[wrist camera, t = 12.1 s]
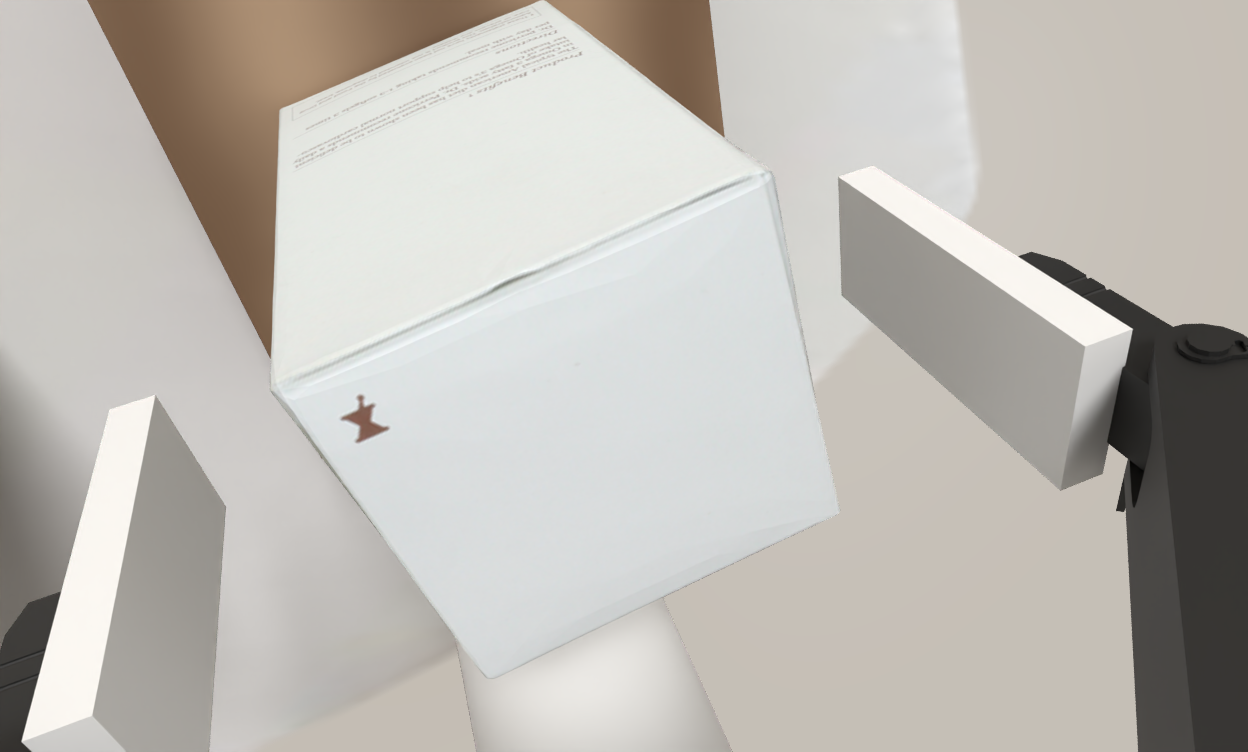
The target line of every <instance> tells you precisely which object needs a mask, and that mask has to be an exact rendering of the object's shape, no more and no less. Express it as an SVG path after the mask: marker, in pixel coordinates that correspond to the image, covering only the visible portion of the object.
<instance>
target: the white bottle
mask: <svg viewBox="0 0 1248 752" xmlns="http://www.w3.org/2000/svg"><path fill="white" fill-rule="evenodd" d="M455 640H456V645H457V651H458V656H459V661H460V667H461V672H462V677H463V682H464V688H465V693H466V698H467V703H468V709H469V715H470V720H471V725H472V730H473V735H474V741H475V746H476V752H733V751H732V749H731V747H730V745H729V743H728V740H727V738H726V736H725V734H724V732H723V729H722V727H721V725H720V722H719V720H718V718H717V716H716V714H715V711H714V709H713V707H712V705H711V703H710V700H709V698H708V696H707V694H706V691H705V689H704V687H703V685H702V682H701V680H700V678H699V676H698V674H697V672H696V669H695V667H694V665H693V663H692V661H691V658H690V656H689V654H688V652H687V650H686V647H685V645H684V643H683V641H682V639H681V637H680V634H679V632H678V630H677V628H676V626H675V623H674V621H673V619H672V617H671V615H670V612H669V610H668V608H667V606H666V604H665V602H664V599H663V598H660V599H658V600H656V601H654V602H652V603H650V604H648V605H646V606H644V607H642V608H640V609H637V610H635V611H633V612H631V613H629V614H627V615H625V616H623V617H621V618H619V619H617V620H614V621H612V622H610V623H608V624H606V625H604V626H602V627H600V628H598V629H596V630H593V631H591V632H589V633H587V634H585V635H583V636H581V637H579V638H577V639H575V640H573V641H571V642H569V643H567V644H565V645H563V646H561V647H559V648H556V649H554V650H552V651H550V652H548V653H546V654H544V655H542V656H540V657H538V658H536V659H534V660H532V661H530V662H528V663H526V664H524V665H522V666H520V667H518V668H516V669H514V670H512V671H510V672H508V673H506V674H504V675H501V676H499V677H497V678H495V679H487V678H486V677H485V676H484V675H483V674H482V673H481V671H480V670H479V669H478V667H477V666H476V665H475V664H474V662H473V661H472V659H471V658H470V657H469V655H468V654H467V653H466V652H465V650H464V649H463V647H462V646H461V644H460V643H459V641H458V640H457V639H456V638H455Z"/></svg>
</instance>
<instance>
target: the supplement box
mask: <svg viewBox="0 0 1248 752" xmlns="http://www.w3.org/2000/svg"><path fill="white" fill-rule="evenodd" d="M270 391H271V393H272V394H273V395H274V396H275V398H276V399H277V400H278V401H279V403H280V404H281V405H282V407H283V408H284V409H285V410H286V412H287V413H288V414H289V415H290V417H291V418H292V419H293V421H294V422H295V423H296V424H297V426H298V427H299V428H300V430H301V431H302V432H303V434H304V435H305V436H306V437H307V439H308V440H309V441H310V443H311V444H312V445H313V447H314V448H315V449H316V451H317V452H318V453H319V454H320V456H321V457H322V458H323V460H324V461H325V462H326V464H327V465H328V466H329V468H330V469H331V470H332V472H333V473H334V474H335V476H336V477H337V478H338V479H339V481H340V482H341V483H342V485H343V486H344V487H345V489H346V490H347V491H348V493H349V494H350V495H351V497H352V498H353V499H354V501H355V502H356V503H357V504H358V506H359V507H360V508H361V510H362V511H363V512H364V514H365V515H366V516H367V518H368V519H369V520H370V521H371V523H372V524H373V525H374V527H375V528H376V529H377V531H378V532H379V533H380V535H381V536H382V537H383V539H384V540H385V541H386V543H387V544H388V546H389V547H390V548H391V550H392V551H393V552H394V554H395V555H396V556H397V558H398V559H399V560H400V562H401V563H402V565H403V566H404V567H405V569H406V570H407V571H408V573H409V574H410V576H411V577H412V578H413V580H414V581H415V583H416V584H417V585H418V587H419V588H420V590H421V591H422V592H423V594H424V595H425V596H426V598H427V599H428V600H429V602H430V603H431V605H432V606H433V607H434V609H435V610H436V611H437V613H438V614H439V615H440V617H441V618H442V620H443V621H444V622H445V624H446V625H447V626H448V628H449V629H450V631H451V632H452V634H453V635H454V636H455V638H456V639H457V640H458V641H459V643H460V644H461V646H462V647H463V649H464V650H465V652H466V653H467V654H468V655H469V657H470V658H471V659H472V661H473V662H474V664H475V665H476V666H477V667H478V669H479V670H480V671H481V673H482V674H483V675H484V676H485V677H486V678H487V679H495V678H497V677H499V676H501V675H504V674H506V673H508V672H510V671H512V670H514V669H516V668H518V667H520V666H522V665H524V664H526V663H528V662H530V661H532V660H534V659H536V658H538V657H540V656H542V655H544V654H546V653H548V652H550V651H552V650H554V649H556V648H559V647H561V646H563V645H565V644H567V643H569V642H571V641H573V640H575V639H577V638H579V637H581V636H583V635H585V634H587V633H589V632H591V631H593V630H596V629H598V628H600V627H602V626H604V625H606V624H608V623H610V622H612V621H614V620H617V619H619V618H621V617H623V616H625V615H627V614H629V613H631V612H633V611H635V610H637V609H640V608H642V607H644V606H646V605H648V604H650V603H652V602H654V601H656V600H658V599H660V598H663V597H665V596H667V595H669V594H671V593H673V592H675V591H677V590H679V589H681V588H683V587H686V586H688V585H690V584H692V583H694V582H696V581H698V580H700V579H702V578H704V577H706V576H709V575H711V574H713V573H715V572H717V571H719V570H721V569H723V568H725V567H727V566H729V565H732V564H734V563H735V562H738V561H740V560H742V559H744V558H746V557H748V556H750V555H752V554H754V553H757V552H759V551H761V550H763V549H765V548H767V547H769V546H772V545H774V544H775V543H778V542H780V541H782V540H784V539H786V538H789V537H790V536H793V535H795V534H797V533H799V532H801V531H804V530H806V529H807V528H810V527H812V526H814V525H816V524H818V523H821V522H823V521H825V520H827V519H829V518H831V517H834V516H836V515H837V514H838V513H839V512H840V507H839V503H838V500H837V495H836V490H835V486H834V481H833V477H832V472H831V468H830V463H829V459H828V454H827V450H826V445H825V441H824V437H823V432H822V428H821V423H820V418H819V414H818V409H817V405H816V400H815V394H814V388H813V383H812V378H811V372H810V367H809V361H808V356H807V351H806V345H805V340H804V335H803V329H802V324H801V319H800V314H799V308H798V303H797V297H796V292H795V286H794V281H793V275H792V270H791V264H790V259H789V254H788V249H787V244H786V239H785V233H784V228H783V222H782V217H781V211H780V206H779V200H778V194H777V188H776V183H775V177H774V175H773V173H772V171H771V170H770V169H769V168H768V167H766V166H765V165H764V164H762V163H761V162H759V161H758V160H756V159H755V158H753V157H752V156H750V155H749V154H747V153H746V152H744V151H743V150H741V149H740V148H738V147H737V146H735V145H734V144H732V143H731V142H730V141H728V140H727V139H726V138H724V137H723V136H722V135H720V134H719V133H717V132H716V131H715V130H713V129H712V128H711V127H709V126H708V125H707V124H706V123H704V122H703V121H702V120H700V119H699V118H698V117H697V116H695V115H694V114H693V113H691V112H690V111H689V110H687V109H686V108H685V107H684V106H682V105H681V104H680V103H678V102H677V101H676V100H674V99H673V98H672V97H670V96H669V95H668V94H667V93H665V92H664V91H663V90H661V89H660V88H659V87H658V86H656V85H655V84H654V83H653V82H651V81H650V80H649V79H648V78H647V77H645V76H644V75H643V74H641V73H640V72H639V71H637V70H636V69H635V68H634V67H632V66H631V65H629V64H628V63H627V62H626V61H625V60H623V59H622V58H621V57H620V56H618V55H617V54H616V53H614V52H613V51H612V50H610V49H609V48H608V47H607V46H605V45H604V44H603V43H601V42H600V41H599V40H597V39H596V38H595V37H593V36H592V35H591V34H590V33H589V32H587V31H586V30H585V29H583V28H582V27H581V26H579V25H578V24H576V23H575V22H573V21H572V20H570V19H569V18H568V17H566V16H565V15H564V14H563V13H561V12H560V11H558V10H557V9H556V8H554V7H553V6H552V5H551V4H549V3H548V2H547V1H545V0H541V1H538V2H535V3H533V4H531V5H528V6H526V7H523V8H521V9H518V10H516V11H513V12H510V13H508V14H505V15H503V16H500V17H497V18H495V19H492V20H490V21H488V22H485V23H483V24H481V25H478V26H476V27H473V28H471V29H469V30H466V31H464V32H461V33H459V34H457V35H454V36H452V37H450V38H447V39H445V40H442V41H440V42H438V43H435V44H433V45H431V46H428V47H426V48H424V49H421V50H419V51H417V52H414V53H412V54H409V55H407V56H405V57H402V58H400V59H398V60H395V61H393V62H391V63H388V64H386V65H383V66H381V67H379V68H376V69H374V70H372V71H369V72H367V73H365V74H362V75H360V76H358V77H355V78H353V79H351V80H348V81H346V82H344V83H341V84H339V85H337V86H334V87H332V88H329V89H327V90H325V91H322V92H320V93H318V94H315V95H313V96H311V97H308V98H306V99H304V100H301V101H299V102H296V103H294V104H292V105H289V106H286V107H284V108H282V109H280V110H279V137H278V169H277V197H276V226H275V263H274V288H273V314H272V346H271V366H270Z"/></svg>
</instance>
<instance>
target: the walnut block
mask: <svg viewBox="0 0 1248 752" xmlns="http://www.w3.org/2000/svg"><path fill="white" fill-rule="evenodd" d="M87 1H88V2H89V4H90V6H91V8H92V10H93V12H94V14H95V16H96V18H97V20H98V22H99V24H100V26H101V28H102V30H103V32H104V34H105V36H106V38H107V40H108V42H109V44H110V46H111V47H112V49H113V51H114V53H115V55H116V57H117V59H118V61H119V63H120V65H121V67H122V69H123V71H124V73H125V75H126V77H127V79H128V81H129V83H130V85H131V87H132V89H133V91H134V92H135V94H136V96H137V98H138V100H139V102H140V104H141V106H142V108H143V110H144V112H145V114H146V116H147V118H148V120H149V122H150V124H151V126H152V128H153V130H154V132H155V134H156V136H157V137H158V139H159V141H160V143H161V145H162V147H163V149H164V151H165V153H166V155H167V157H168V159H169V161H170V163H171V165H172V167H173V169H174V171H175V173H176V175H177V177H178V179H179V181H180V182H181V184H182V186H183V188H184V190H185V192H186V194H187V196H188V198H189V200H190V202H191V204H192V206H193V208H194V210H195V212H196V214H197V216H198V218H199V220H200V222H201V224H202V226H203V227H204V229H205V231H206V233H207V235H208V237H209V239H210V241H211V243H212V245H213V247H214V249H215V251H216V253H217V255H218V257H219V259H220V261H221V263H222V265H223V267H224V269H225V271H226V272H227V274H228V276H229V278H230V280H231V282H232V284H233V286H234V288H235V290H236V292H237V294H238V296H239V298H240V300H241V302H242V304H243V306H244V308H245V310H246V312H247V314H248V316H249V317H250V319H251V321H252V323H253V325H254V327H255V329H256V331H257V333H258V335H259V337H260V339H261V341H262V343H263V345H264V347H265V349H266V351H267V353H268V355H269V357H270V359H271V346H272V314H273V288H274V263H275V226H276V197H277V169H278V137H279V110H280V109H282V108H284V107H286V106H289V105H292V104H294V103H296V102H299V101H301V100H304V99H306V98H308V97H311V96H313V95H315V94H318V93H320V92H322V91H325V90H327V89H329V88H332V87H334V86H337V85H339V84H341V83H344V82H346V81H348V80H351V79H353V78H355V77H358V76H360V75H362V74H365V73H367V72H369V71H372V70H374V69H376V68H379V67H381V66H383V65H386V64H388V63H391V62H393V61H395V60H398V59H400V58H402V57H405V56H407V55H409V54H412V53H414V52H417V51H419V50H421V49H424V48H426V47H428V46H431V45H433V44H435V43H438V42H440V41H442V40H445V39H447V38H450V37H452V36H454V35H457V34H459V33H461V32H464V31H466V30H469V29H471V28H473V27H476V26H478V25H481V24H483V23H485V22H488V21H490V20H492V19H495V18H497V17H500V16H503V15H505V14H508V13H510V12H513V11H516V10H518V9H521V8H523V7H526V6H528V5H531V4H533V3H535V2H538V1H541V0H87ZM545 1H547V2H548V3H549V4H551V5H552V6H553V7H554V8H556V9H557V10H558V11H560V12H561V13H563V14H564V15H565V16H566V17H568V18H569V19H570V20H572V21H573V22H575V23H576V24H578V25H579V26H581V27H582V28H583V29H585V30H586V31H587V32H589V33H590V34H591V35H592V36H593V37H595V38H596V39H597V40H599V41H600V42H601V43H603V44H604V45H605V46H607V47H608V48H609V49H610V50H612V51H613V52H614V53H616V54H617V55H618V56H620V57H621V58H622V59H623V60H625V61H626V62H627V63H628V64H629V65H631V66H632V67H634V68H635V69H636V70H637V71H639V72H640V73H641V74H643V75H644V76H645V77H647V78H648V79H649V80H650V81H651V82H653V83H654V84H655V85H656V86H658V87H659V88H660V89H661V90H663V91H664V92H665V93H667V94H668V95H669V96H670V97H672V98H673V99H674V100H676V101H677V102H678V103H680V104H681V105H682V106H684V107H685V108H686V109H687V110H689V111H690V112H691V113H693V114H694V115H695V116H697V117H698V118H699V119H700V120H702V121H703V122H704V123H706V124H707V125H708V126H709V127H711V128H712V129H713V130H715V131H716V132H717V133H719V134H720V135H722V136H723V137H724V129H723V120H722V111H721V102H720V93H719V84H718V76H717V67H716V58H715V49H714V40H713V31H712V22H711V14H710V5H709V0H545ZM321 458H322V457H321Z"/></svg>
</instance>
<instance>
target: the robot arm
mask: <svg viewBox="0 0 1248 752" xmlns="http://www.w3.org/2000/svg"><path fill="white" fill-rule="evenodd" d="M838 187H839V221H840V255H841V288H842V296H843V297H844V298H845V299H846V300H848V301H849V302H850V303H851V304H852V305H853V306H854V307H855V308H857V309H858V310H859V311H860V312H861V313H862V314H863V315H864V316H865V317H867V318H868V319H869V320H870V321H871V322H872V323H873V324H874V325H876V326H877V327H878V328H879V329H880V330H881V331H882V332H883V333H885V334H886V335H887V336H888V337H889V338H890V339H891V340H892V341H893V342H895V343H896V344H897V345H898V346H899V347H900V348H901V349H903V350H904V351H905V352H906V353H907V354H908V355H909V356H910V357H911V358H913V359H914V360H915V361H916V362H917V363H918V364H919V365H920V366H922V367H923V368H924V369H925V370H926V371H927V372H928V373H929V374H931V375H932V376H933V377H934V378H935V379H936V380H937V381H938V382H939V383H941V384H942V385H943V386H944V387H945V388H946V389H947V390H948V391H949V392H951V393H952V394H953V395H954V396H955V397H956V398H957V399H958V400H960V401H961V402H962V403H963V404H964V405H965V406H966V407H968V408H969V409H970V410H971V411H972V412H973V413H974V414H975V415H976V416H978V417H979V418H980V419H981V420H982V421H983V422H984V423H985V424H986V425H988V426H989V427H990V428H991V429H992V430H993V431H994V432H995V433H997V434H998V435H999V436H1000V437H1001V438H1002V439H1003V440H1004V441H1006V442H1007V443H1008V444H1009V445H1010V446H1011V447H1013V449H1014V450H1016V451H1017V452H1018V453H1019V454H1020V455H1021V456H1022V457H1023V458H1025V459H1026V460H1027V461H1028V462H1029V463H1030V464H1032V466H1034V467H1035V468H1036V469H1037V470H1038V471H1039V472H1040V473H1041V474H1042V475H1044V476H1045V477H1046V478H1047V479H1048V480H1049V481H1050V482H1052V483H1053V484H1054V485H1055V486H1056V487H1057V488H1058V489H1059V490H1060V491H1061V490H1063V489H1066V488H1068V487H1071V486H1073V485H1075V484H1078V483H1081V482H1083V481H1086V480H1088V479H1091V478H1093V477H1096V476H1098V475H1101V474H1102V473H1103V469H1104V464H1105V460H1106V455H1107V450H1108V445H1109V444H1110V445H1111V446H1112V447H1114V448H1115V449H1116V450H1118V451H1119V452H1120V453H1121V454H1123V455H1124V456H1125V457H1126V458H1128V461H1127V465H1126V469H1125V474H1124V478H1123V483H1122V487H1121V491H1120V496H1119V500H1118V505H1117V509H1116V511H1121V512H1124V510H1125V508H1126V524H1127V541H1128V542H1127V543H1128V562H1129V582H1130V601H1131V618H1132V619H1131V620H1132V640H1133V659H1134V678H1135V697H1136V717H1137V735H1138V752H1248V338H1247V337H1246V336H1244V335H1243V334H1241V333H1239V332H1236V331H1233V330H1230V329H1227V328H1225V327H1221V326H1214V325H1208V324H1182V325H1179V326H1175V327H1172V326H1171V325H1169V324H1167V323H1165V322H1164V321H1162V320H1160V319H1159V318H1157V317H1155V316H1154V315H1152V314H1150V313H1149V312H1147V311H1145V310H1144V309H1142V308H1140V307H1139V306H1137V305H1135V304H1134V303H1132V302H1130V301H1129V300H1127V299H1125V298H1124V297H1122V296H1120V295H1119V294H1117V293H1115V292H1114V291H1112V290H1110V289H1109V290H1106V289H1105V286H1104V285H1102V284H1100V283H1099V282H1097V281H1095V280H1094V279H1092V278H1089V279H1087V277H1086V275H1085V274H1084V273H1082V272H1080V271H1079V270H1077V269H1075V268H1073V267H1072V266H1070V265H1068V264H1067V263H1065V262H1063V261H1061V260H1058V259H1054V258H1051V257H1048V256H1044V255H1041V254H1037V253H1033V252H1029V253H1027V254H1024V255H1021V256H1016V255H1014V254H1013V253H1011V252H1010V251H1008V250H1006V249H1005V248H1003V247H1002V246H1000V245H999V244H997V243H995V242H994V241H992V240H990V239H989V238H987V237H986V236H984V235H983V234H981V233H979V232H978V231H976V230H975V229H973V228H971V227H970V226H968V225H967V224H965V223H964V222H962V221H960V220H959V219H957V218H956V217H954V216H952V215H951V214H949V213H948V212H946V211H945V210H943V209H941V208H940V207H938V206H937V205H935V204H933V203H932V202H930V201H929V200H927V199H925V198H924V197H922V196H921V195H919V194H917V193H916V192H914V191H913V190H911V189H910V188H908V187H906V186H905V185H903V184H902V183H900V182H898V181H897V180H895V179H894V178H892V177H890V176H889V175H887V174H886V173H884V172H883V171H881V170H879V169H878V168H876V167H875V166H870V167H867V168H864V169H861V170H857V171H854V172H851V173H848V174H845V175H842V176H839V177H838ZM225 512H226V506H225V505H224V503H223V501H222V500H221V498H220V497H219V495H218V493H217V492H216V490H215V489H214V487H213V486H212V484H211V482H210V481H209V479H208V478H207V476H206V474H205V473H204V471H203V470H202V468H201V466H200V465H199V463H198V462H197V460H196V459H195V457H194V455H193V454H192V452H191V451H190V449H189V447H188V446H187V444H186V443H185V441H184V440H183V438H182V436H181V435H180V433H179V432H178V430H177V428H176V427H175V425H174V424H173V422H172V420H171V419H170V417H169V416H168V414H167V413H166V411H165V409H164V408H163V406H162V405H161V403H160V401H159V400H158V398H157V397H156V395H153V396H150V397H147V398H144V399H141V400H138V401H135V402H132V403H128V404H125V405H122V406H119V407H116V408H113V409H110V410H109V414H108V418H107V422H106V426H105V429H104V433H103V437H102V441H101V444H100V448H99V452H98V456H97V459H96V463H95V467H94V471H93V474H92V478H91V482H90V486H89V489H88V493H87V497H86V501H85V504H84V508H83V512H82V516H81V520H80V523H79V527H78V531H77V535H76V538H75V542H74V546H73V550H72V553H71V557H70V561H69V565H68V568H67V572H66V576H65V580H64V583H63V587H62V591H61V592H59V593H56V594H53V595H50V596H47V597H44V598H41V599H39V600H36V601H33V602H30V603H28V605H27V606H26V607H25V609H24V610H23V611H22V613H21V614H20V616H19V617H18V618H17V620H16V621H15V622H14V624H13V625H12V627H11V628H10V629H9V631H8V632H7V633H6V635H5V637H4V640H3V644H2V647H1V650H0V752H209V747H210V732H211V717H212V703H213V688H214V673H215V659H216V644H217V629H218V615H219V600H220V585H221V571H222V556H223V541H224V527H225Z"/></svg>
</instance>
